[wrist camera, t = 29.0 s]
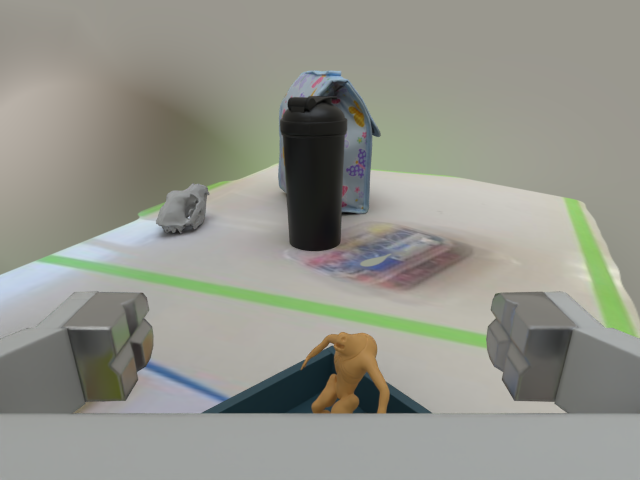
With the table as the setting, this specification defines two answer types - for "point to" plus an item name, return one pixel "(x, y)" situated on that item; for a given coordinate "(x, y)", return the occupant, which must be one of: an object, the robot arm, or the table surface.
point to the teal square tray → (311, 392)
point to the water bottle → (314, 170)
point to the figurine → (349, 373)
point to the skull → (183, 209)
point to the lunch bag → (355, 138)
